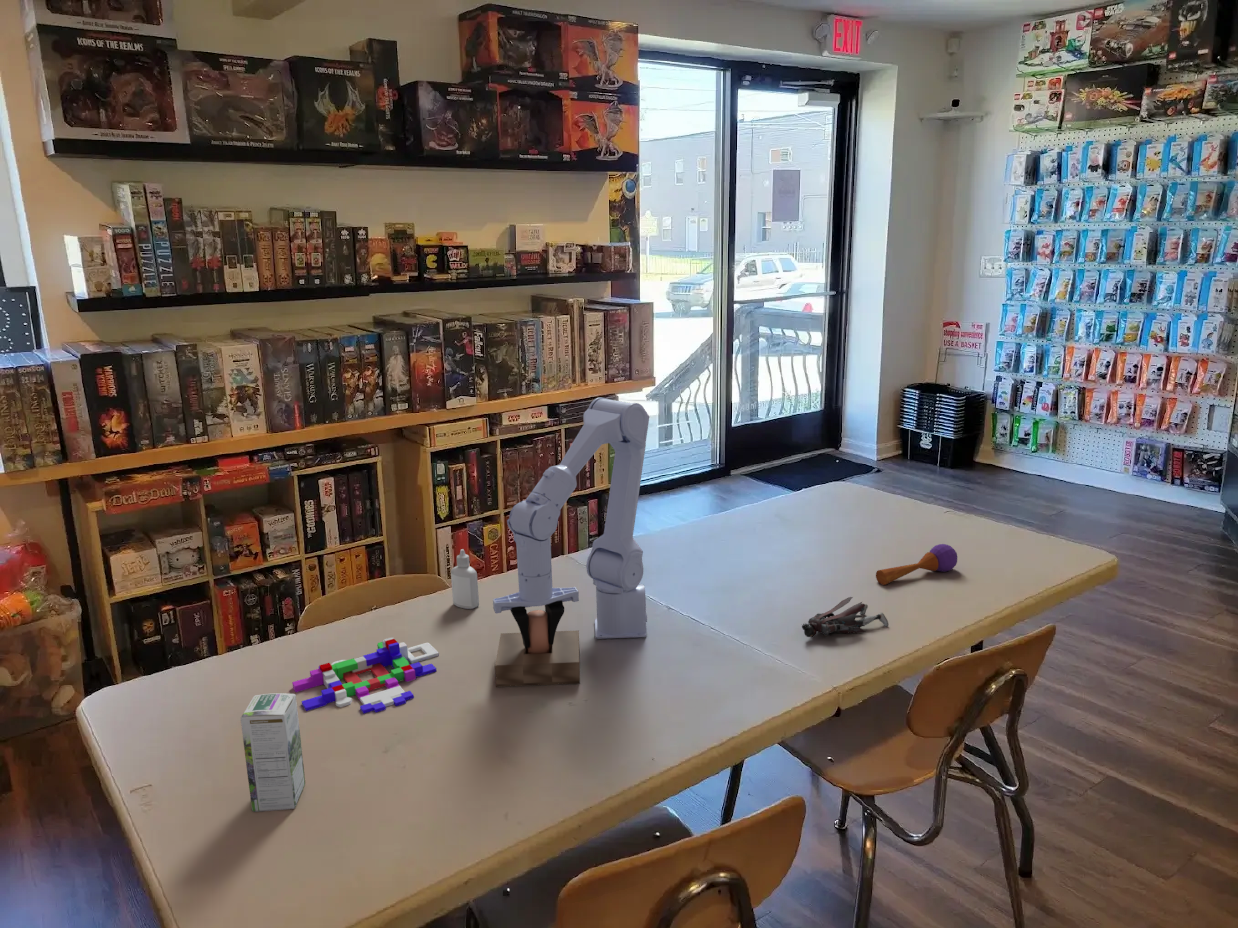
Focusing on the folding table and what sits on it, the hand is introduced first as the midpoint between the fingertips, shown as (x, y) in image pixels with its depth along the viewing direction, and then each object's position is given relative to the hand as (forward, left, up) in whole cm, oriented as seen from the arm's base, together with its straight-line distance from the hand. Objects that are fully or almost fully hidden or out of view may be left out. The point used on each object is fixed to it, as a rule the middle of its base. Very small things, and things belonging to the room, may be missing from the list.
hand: (538, 643), depth 156 cm
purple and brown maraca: (-80, -35, -5) cm, 87 cm away
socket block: (0, 0, -5) cm, 5 cm away
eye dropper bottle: (+16, -28, -5) cm, 33 cm away
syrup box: (+34, +34, -5) cm, 48 cm away
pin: (0, 0, -2) cm, 2 cm away
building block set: (+28, +2, -5) cm, 29 cm away
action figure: (-56, -10, -5) cm, 57 cm away
